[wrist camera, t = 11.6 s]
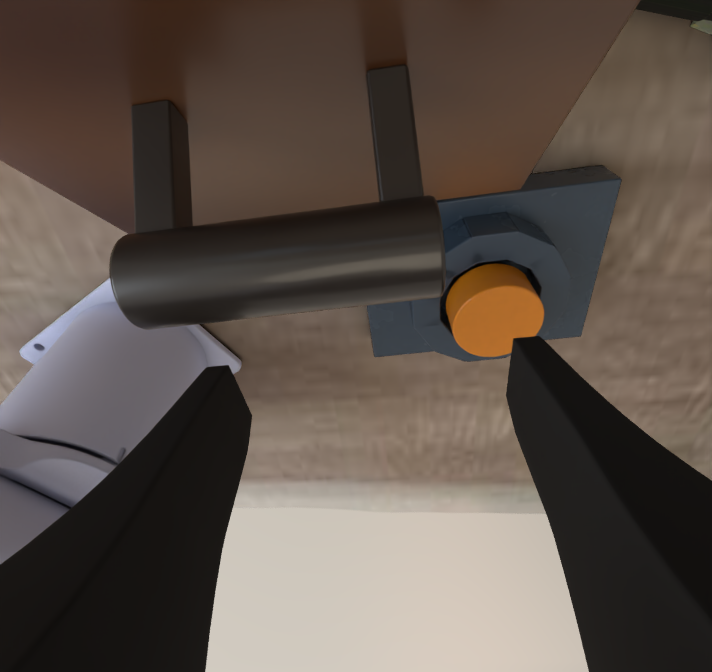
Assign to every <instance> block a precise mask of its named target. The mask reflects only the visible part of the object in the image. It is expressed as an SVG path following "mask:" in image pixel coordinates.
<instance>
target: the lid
mask: <svg viewBox="0 0 712 672" xmlns="http://www.w3.org/2000/svg"><path fill="white" fill-rule="evenodd" d="M639 2H640V0H0V160H1V161H2V162H4V163H6V164H8V165H9V166H11V167H13V168H15V169H16V170H18V171H20V172H22V173H23V174H25V175H27V176H29V177H30V178H32V179H34V180H36V181H37V182H39V183H41V184H43V185H44V186H46V187H48V188H50V189H51V190H53V191H55V192H56V193H58V194H60V195H62V196H63V197H65V198H67V199H69V200H70V201H72V202H74V203H76V204H77V205H79V206H81V207H83V208H84V209H86V210H88V211H90V212H91V213H93V214H95V215H97V216H98V217H100V218H102V219H104V220H105V221H107V222H109V223H111V224H112V225H114V226H116V227H118V228H119V229H121V230H123V231H125V232H126V233H128V235H125V236H123V237H122V238H121V239H119V240H118V241H117V243H116V244H115V246H114V248H113V250H112V253H111V257H110V270H109V271H110V281H111V286H112V290H113V294H114V297H115V299H116V302H117V304H118V306H119V308H120V310H121V311H122V313H123V314H124V316H125V317H126V318H127V319H128V320H129V321H130V322H131V323H132V324H133V325H135V326H137V327H139V328H142V329H146V330H151V329H160V328H169V327H178V326H187V325H196V324H205V323H214V322H223V321H232V320H241V319H250V318H259V317H268V316H277V315H286V314H295V313H304V312H313V311H322V310H331V309H340V308H349V307H358V306H367V305H376V304H385V303H394V302H403V301H412V300H421V299H430V298H438V297H440V296H442V295H443V292H444V288H445V277H446V262H445V245H444V234H443V226H442V220H441V214H440V210H439V206H438V203H437V201H436V200H443V199H450V198H458V197H466V196H474V195H481V194H489V193H497V192H505V191H512V190H519V189H521V188H522V186H523V185H524V183H525V181H526V180H527V178H528V177H529V175H530V174H531V172H532V170H533V169H534V167H535V166H536V164H537V163H538V161H539V159H540V158H541V156H542V155H543V153H544V152H545V150H546V148H547V147H548V145H549V144H550V142H551V140H552V139H553V137H554V136H555V134H556V133H557V131H558V129H559V128H560V126H561V125H562V123H563V122H564V120H565V118H566V117H567V115H568V114H569V112H570V111H571V109H572V107H573V106H574V104H575V103H576V101H577V100H578V98H579V96H580V95H581V93H582V92H583V90H584V89H585V87H586V85H587V84H588V82H589V81H590V79H591V78H592V76H593V74H594V73H595V71H596V70H597V68H598V67H599V65H600V63H601V62H602V60H603V59H604V57H605V55H606V54H607V52H608V51H609V49H610V48H611V46H612V44H613V43H614V41H615V40H616V38H617V37H618V35H619V33H620V32H621V30H622V29H623V27H624V26H625V24H626V22H627V21H628V19H629V18H630V16H631V15H632V13H633V11H634V10H635V8H636V7H637V5H638V4H639Z"/></svg>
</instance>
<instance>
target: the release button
mask: <svg viewBox="0 0 712 672" xmlns="http://www.w3.org/2000/svg"><path fill="white" fill-rule="evenodd" d="M446 312H447V316H448V319H449V323H450V326H451V330H452V333H453V337H454V339H455V341H456V342H457V344H458V345H459V346H460V347H461V348H462V349H464V350H465V351H467V352H469V353H471V354H473V355H477V356H482V357H497V356H502V355H506V354H509V353H511V352H512V344H513V338H521V337H532V336H536V335H537V333H538V332H539V330H540V328H541V326H542V324H543V320H544V307H543V304H542V302H541V300H540V298H539V296H538V295H537V293H536V291H535V290H534V288H533V286H532V285H531V283H530V281H529V280H528V278H527V277H526V275H525V274H524V273H523V272H522V271H520V270H519V269H517V268H515V267H513V266H510V265H506V264H499V263H494V264H486V265H482V266H478V267H476V268H473V269H471V270H470V271H468V272H466V273H465V274H463V275H462V276H461V277H460V278H459V279H458V280H457V281H456V282H455V283H454V284H453V286H452V287H451V289H450V290H449V293H448V295H447V299H446Z"/></svg>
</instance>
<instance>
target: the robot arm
mask: <svg viewBox="0 0 712 672" xmlns="http://www.w3.org/2000/svg"><path fill="white" fill-rule="evenodd" d="M40 344H41V345H40ZM20 354H21V356H22V357H23V358H25V359H26V360H28V361H29V362H31V363H33V364H34V366H33V367H32V368H31V369H30V370H29V372H28V373H27V374H26V375H25V376H24V378H23V379H22V380H21V381H20V382H19V383H18V385H17V386H16V387H15V388H14V389H13V391H12V392H11V393H10V394H9V395H8V397H7V398H6V399H5V400H4V401H3V402H2V404H1V405H0V672H205V668H206V660H207V651H208V642H209V633H210V626H211V618H212V611H213V604H214V597H215V590H216V583H217V578H218V572H219V565H220V559H221V553H222V548H223V544H224V539H225V535H226V531H227V527H228V523H229V520H230V516H231V512H232V508H233V505H234V501H235V497H236V494H237V490H238V486H239V482H240V479H241V475H242V471H243V467H244V463H245V459H246V455H247V451H248V444H249V437H250V429H251V420H252V414H251V412H250V410H249V408H248V406H247V404H246V401H245V399H244V397H243V395H242V393H241V391H240V388H239V386H238V384H237V382H236V380H235V378H234V375H233V374H234V373H236V372H238V371H239V370H240V368H241V365H242V363H241V360H240V359H239V358H238V357H236V356H235V355H234V354H233V353H232V352H231V351H229V350H228V349H227V348H226V347H225V346H224V345H222V344H221V343H220V342H219V341H218V340H217V339H215V338H214V337H213V336H212V335H211V334H210V333H208V332H207V331H206V330H205V329H204V328H203V327H201V326H200V325H199V324H196V325H187V326H178V327H169V328H160V329H151V330H146V329H142V328H139V327H137V326H135V325H133V324H132V323H131V322H130V321H129V320H128V319H127V318H126V317H125V316H124V314H123V313H122V311H121V310H120V308H119V306H118V304H117V302H116V299H115V297H114V294H113V290H112V286H111V281H110V278H108V279H107V280H106V281H105V282H103V283H102V284H101V285H100V286H98V287H97V288H96V289H94V290H93V291H92V292H91V293H89V294H88V295H87V296H86V297H84V298H83V299H82V300H81V301H79V302H78V303H77V304H76V305H74V306H73V307H72V308H70V309H69V310H68V311H67V312H65V313H64V314H63V315H62V316H60V317H59V318H58V319H57V320H55V321H54V322H53V323H52V324H50V325H49V326H48V327H46V328H45V329H44V330H43V331H41V332H40V333H39V334H38V335H36V336H35V337H34V338H33V339H31V340H30V341H29V342H28V343H26V344H25V345H24V346H23V347H22V348H21V349H20ZM506 397H507V401H508V405H509V409H510V414H511V418H512V421H513V425H514V429H515V433H516V436H517V438H518V441H519V444H520V446H521V449H522V452H523V454H524V457H525V459H526V462H527V465H528V467H529V470H530V472H531V475H532V478H533V480H534V483H535V485H536V488H537V491H538V493H539V496H540V498H541V501H542V504H543V506H544V509H545V511H546V514H547V517H548V520H549V523H550V526H551V529H552V532H553V534H554V538H555V542H556V545H557V549H558V552H559V556H560V560H561V563H562V567H563V570H564V574H565V578H566V582H567V585H568V589H569V593H570V597H571V600H572V604H573V608H574V612H575V616H576V620H577V624H578V628H579V632H580V636H581V640H582V645H583V649H584V653H585V657H586V661H587V665H588V669H589V672H712V481H711V480H710V479H708V478H707V477H706V476H704V475H703V474H701V473H700V472H698V471H697V470H695V469H694V468H692V467H691V466H690V465H688V464H687V463H685V462H684V461H683V460H681V459H680V458H678V457H677V456H676V455H674V454H673V453H671V452H670V451H669V450H667V449H666V448H664V447H663V446H662V445H661V444H659V443H658V442H657V441H655V440H654V439H653V438H651V437H650V436H649V435H648V434H646V433H645V432H644V431H643V430H641V429H640V428H639V427H638V426H637V425H635V424H634V423H633V422H632V421H630V420H629V419H628V418H627V417H626V416H624V415H623V414H622V413H621V412H620V411H619V410H617V409H616V408H615V407H614V406H613V405H612V404H610V403H609V402H608V401H607V400H606V399H605V398H604V397H603V396H602V395H600V394H599V393H598V392H597V391H596V390H595V389H594V388H593V387H592V386H591V385H589V384H588V383H587V382H586V381H585V380H584V379H583V378H582V377H581V376H580V375H579V374H578V373H577V372H576V371H575V370H574V369H573V368H572V367H571V366H570V365H569V364H568V363H566V362H565V361H564V360H563V359H562V358H561V357H560V356H559V355H558V354H557V353H556V352H555V351H554V350H553V349H552V348H551V347H550V346H549V345H548V344H547V343H546V342H545V341H544V340H543V339H542V338H541V337H540V336H532V337H521V338H513V344H512V352H511V360H510V368H509V376H508V384H507V392H506Z"/></svg>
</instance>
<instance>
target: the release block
mask: <svg viewBox="0 0 712 672" xmlns="http://www.w3.org/2000/svg"><path fill="white" fill-rule="evenodd" d="M620 184H621V178H620V177H618V176H617V175H616V174H614V173H613V172H612V171H610V170H609V169H607V168H606V167H605V166H603V165H600V166H592V167H584V168H577V169H569V170H562V171H554V172H546V173H539V174H531V175H529V177H528V178H527V180H526V181H525V183H524V185H523V186H522V188H521V189H519V190H512V191H505V192H497V193H489V194H481V195H474V196H466V197H458V198H450V199H443V200H436V201H437V203H438V206H439V210H440V214H441V220H442V226H443V234H444V245H445V262H446V277H445V288H444V292H443V295H442V296H440V297H438V298H430V299H421V300H412V301H403V302H394V303H385V304H376V305H367V310H368V317H369V325H370V332H371V339H372V346H373V353H374V357H382V356H392V355H402V354H412V353H422V352H431V351H435V352H437V353H440V354H444V355H447V356H450V357H453V358H456V359H459V360H462V361H467V362H470V361H480V360H490V359H500V358H506V357H508V356H510V355H511V353H509V354H506V355H502V356H497V357H482V356H477V355H473V354H471V353H469V352H467V351H465V350H464V349H462V348H461V347H460V346H459V345H458V344H457V342H456V341H455V339H454V337H453V333H452V330H451V326H450V323H449V319H448V316H447V312H446V299H447V295H448V293H449V290H450V289H451V287H452V286H453V284H454V283H455V282H456V281H457V280H458V279H459V278H460V277H461V276H462V275H463V274H465V273H466V272H468V271H470V270H471V269H473V268H476V267H478V266H482V265H486V264H494V263H499V264H506V265H510V266H513V267H515V268H517V269H519V270H520V271H522V272H523V273H524V274H525V275H526V277H527V278H528V280H529V281H530V283H531V285H532V286H533V288H534V290H535V291H536V293H537V295H538V296H539V298H540V300H541V302H542V304H543V307H544V320H543V324H542V326H541V328H540V330H539V332H538V333H537V335H536V336H540V337H541V338H542V339H543V340H550V339H559V338H569V337H579V336H581V334H582V330H583V326H584V322H585V318H586V315H587V311H588V307H589V303H590V299H591V295H592V292H593V288H594V284H595V280H596V276H597V272H598V269H599V265H600V261H601V257H602V253H603V249H604V246H605V242H606V238H607V234H608V230H609V226H610V223H611V219H612V215H613V211H614V207H615V203H616V200H617V196H618V192H619V188H620Z"/></svg>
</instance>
